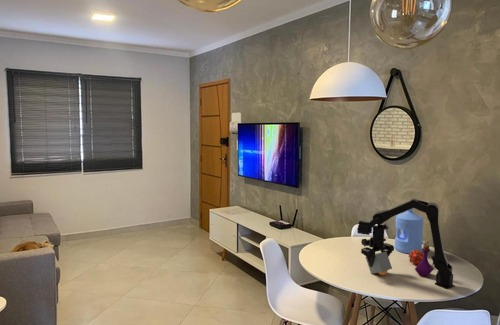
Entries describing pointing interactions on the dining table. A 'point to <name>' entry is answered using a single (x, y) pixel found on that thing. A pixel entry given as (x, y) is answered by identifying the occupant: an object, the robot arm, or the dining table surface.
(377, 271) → the matte grey cube
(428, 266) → the perfume bottle
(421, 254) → the dragon fruit
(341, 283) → the dining table surface
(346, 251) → the dining table surface
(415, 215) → the water jug
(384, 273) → the ball
